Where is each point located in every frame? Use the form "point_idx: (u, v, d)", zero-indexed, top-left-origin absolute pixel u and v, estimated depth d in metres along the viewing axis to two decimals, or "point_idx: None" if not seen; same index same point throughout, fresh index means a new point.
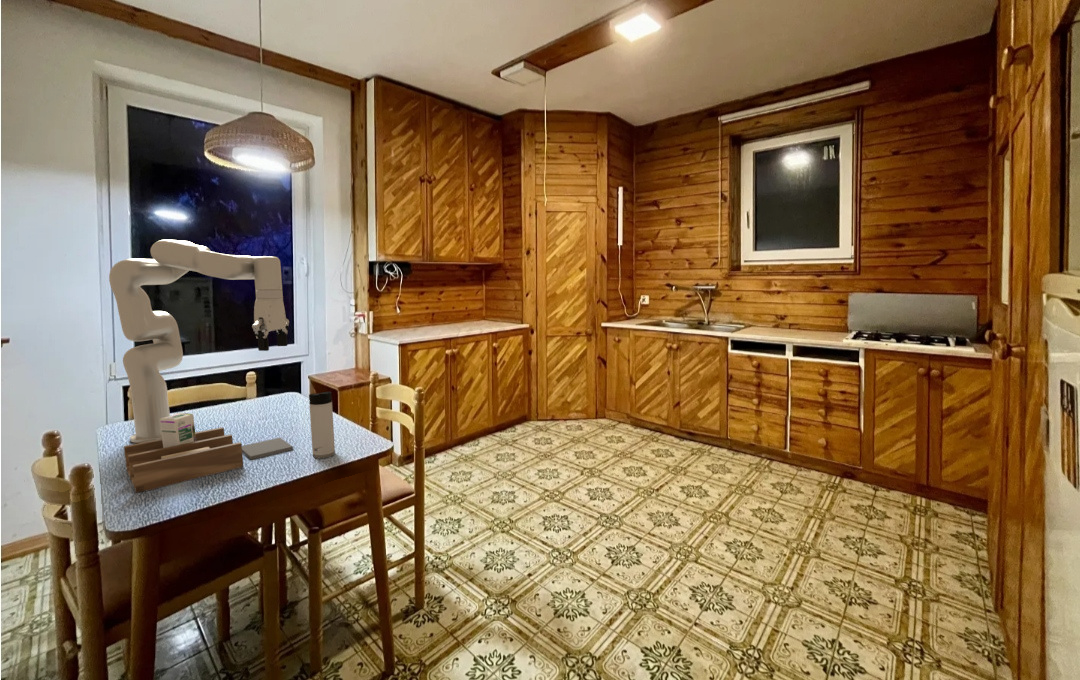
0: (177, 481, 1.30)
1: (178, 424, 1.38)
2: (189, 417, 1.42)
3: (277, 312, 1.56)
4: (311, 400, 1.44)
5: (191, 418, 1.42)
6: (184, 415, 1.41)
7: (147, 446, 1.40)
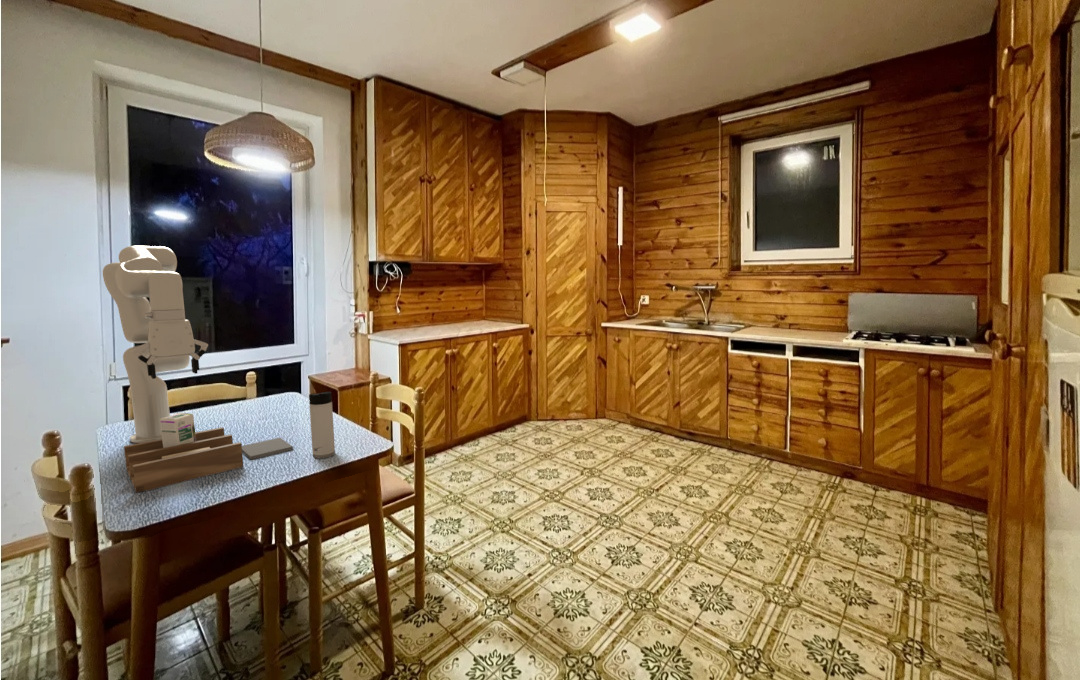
0: (177, 481, 1.30)
1: (178, 424, 1.38)
2: (189, 417, 1.42)
3: None
4: (311, 400, 1.44)
5: (191, 418, 1.42)
6: (184, 415, 1.41)
7: (147, 446, 1.40)
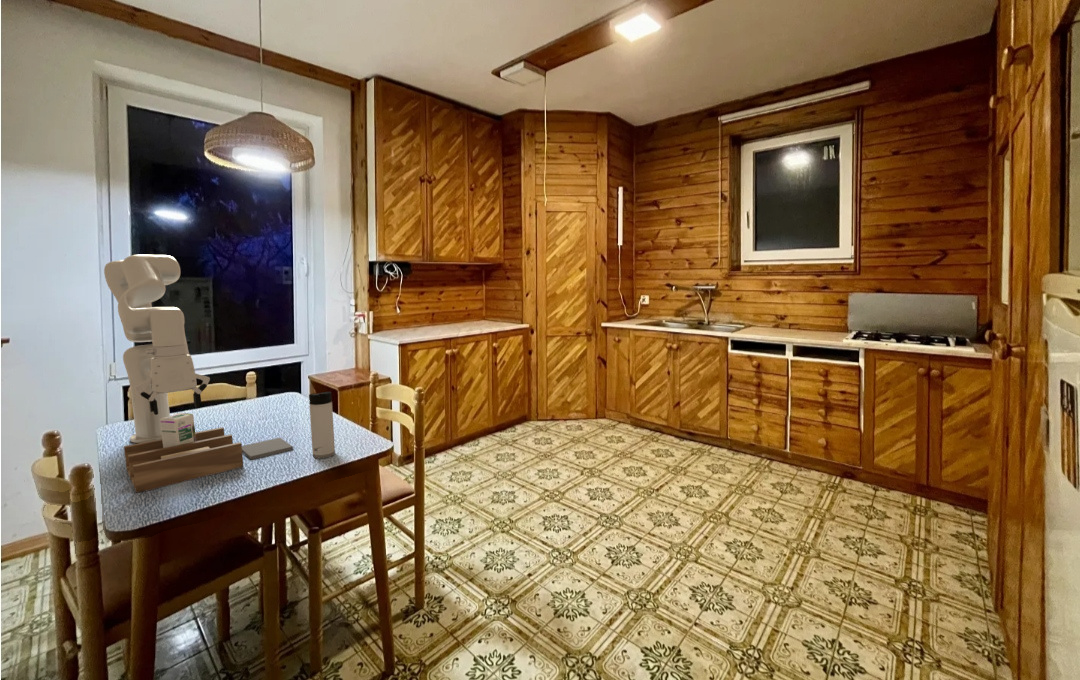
0: (177, 481, 1.30)
1: (178, 424, 1.38)
2: (189, 417, 1.42)
3: None
4: (311, 400, 1.44)
5: (191, 418, 1.42)
6: (184, 415, 1.41)
7: (147, 446, 1.40)
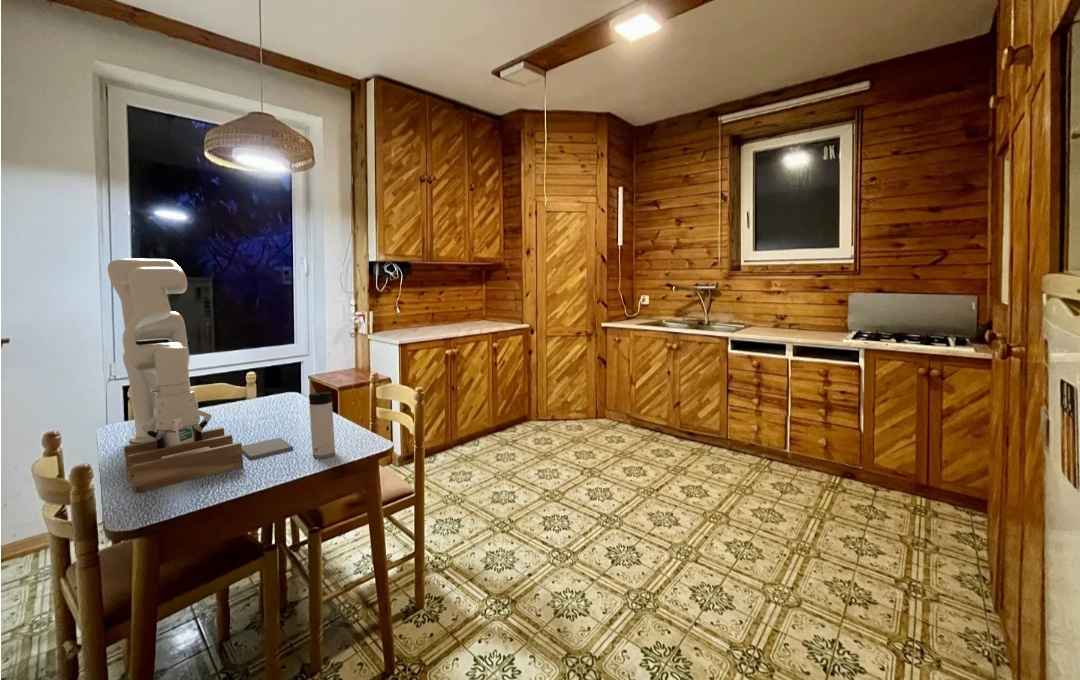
0: (177, 481, 1.30)
1: (178, 424, 1.39)
2: None
3: None
4: (311, 400, 1.44)
5: None
6: None
7: (147, 446, 1.40)
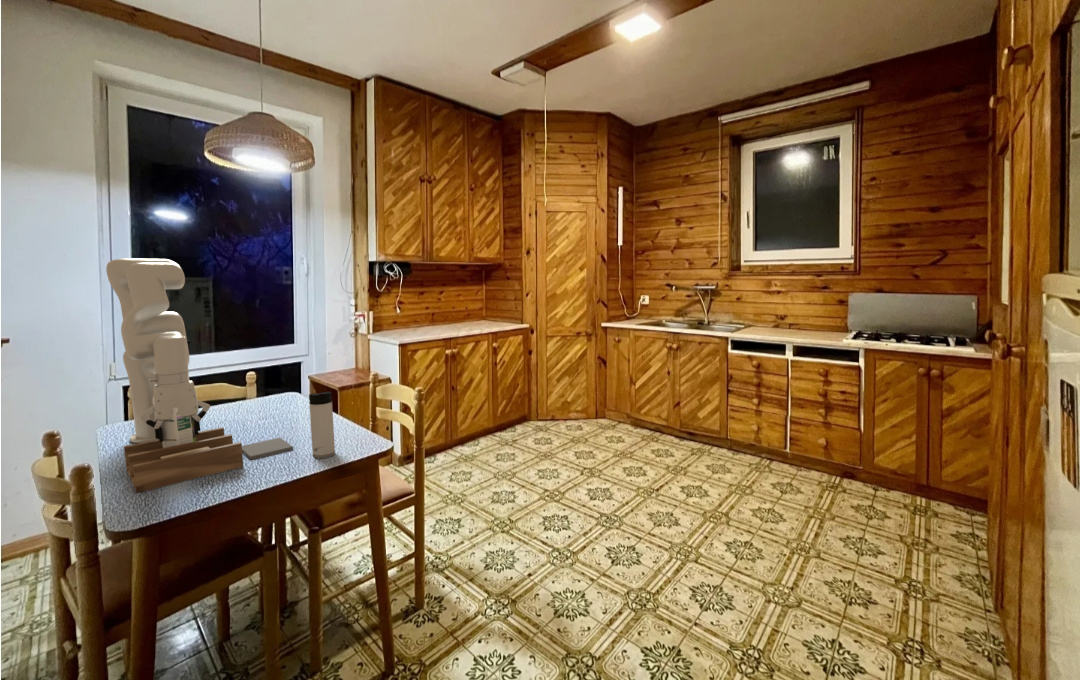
0: (177, 481, 1.30)
1: (177, 413, 1.39)
2: None
3: None
4: (311, 400, 1.44)
5: None
6: None
7: (147, 446, 1.40)
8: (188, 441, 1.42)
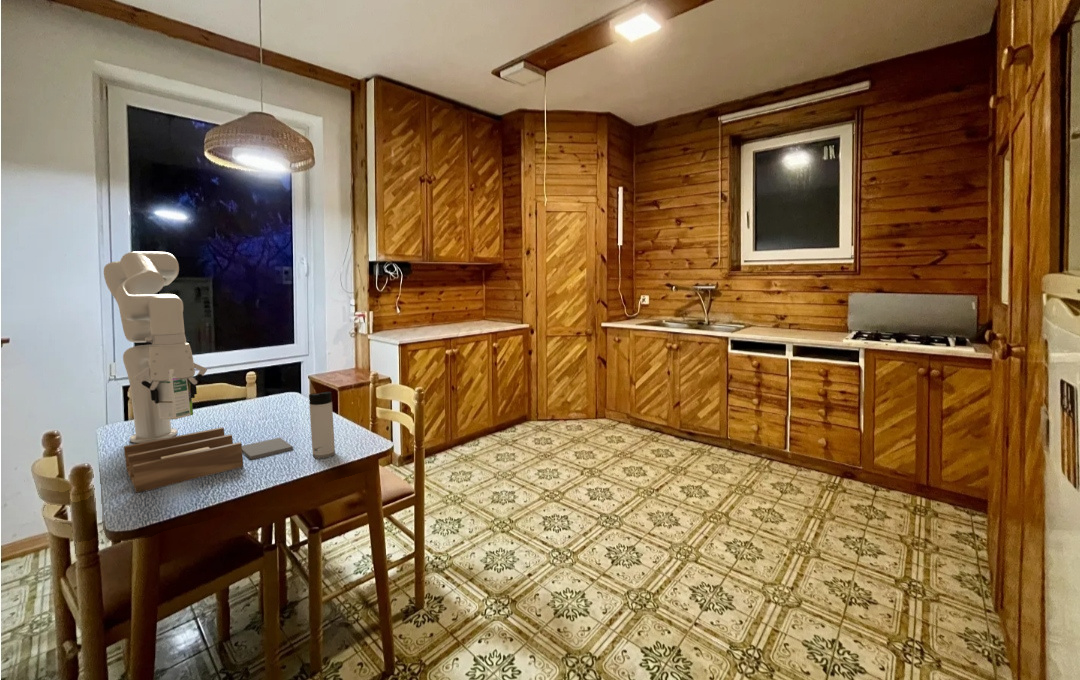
0: (177, 481, 1.30)
1: (172, 374, 1.37)
2: None
3: None
4: (311, 400, 1.44)
5: None
6: None
7: (147, 446, 1.40)
8: (184, 404, 1.40)
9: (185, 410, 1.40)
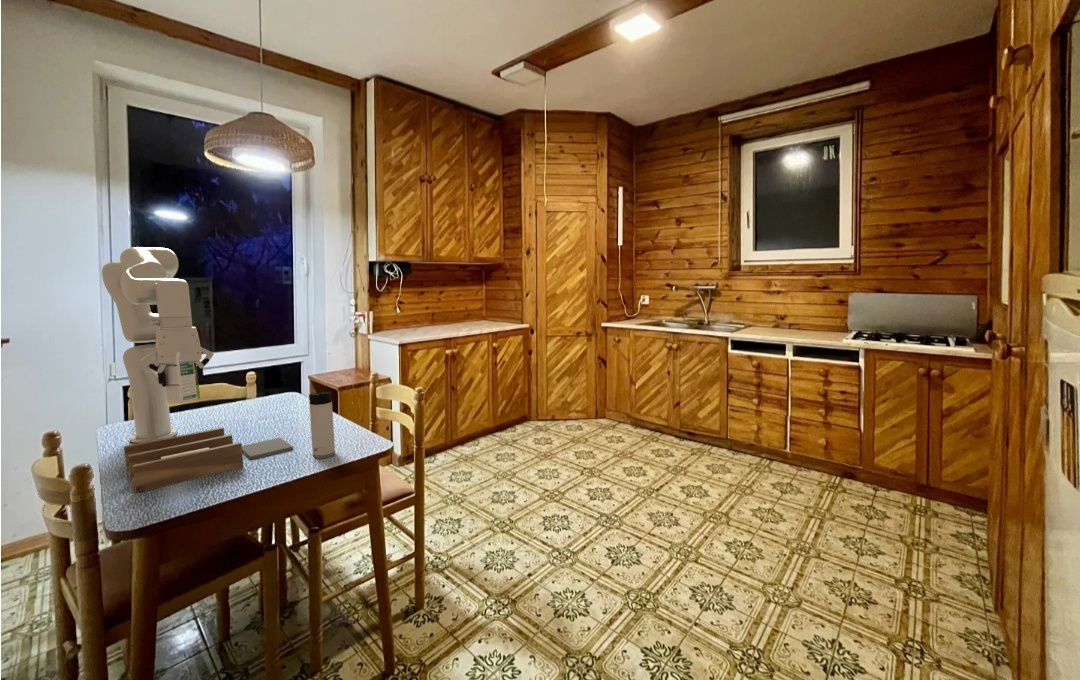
0: (177, 481, 1.30)
1: (179, 357, 1.37)
2: None
3: None
4: (311, 400, 1.44)
5: None
6: None
7: (147, 446, 1.40)
8: (191, 387, 1.40)
9: (192, 393, 1.40)
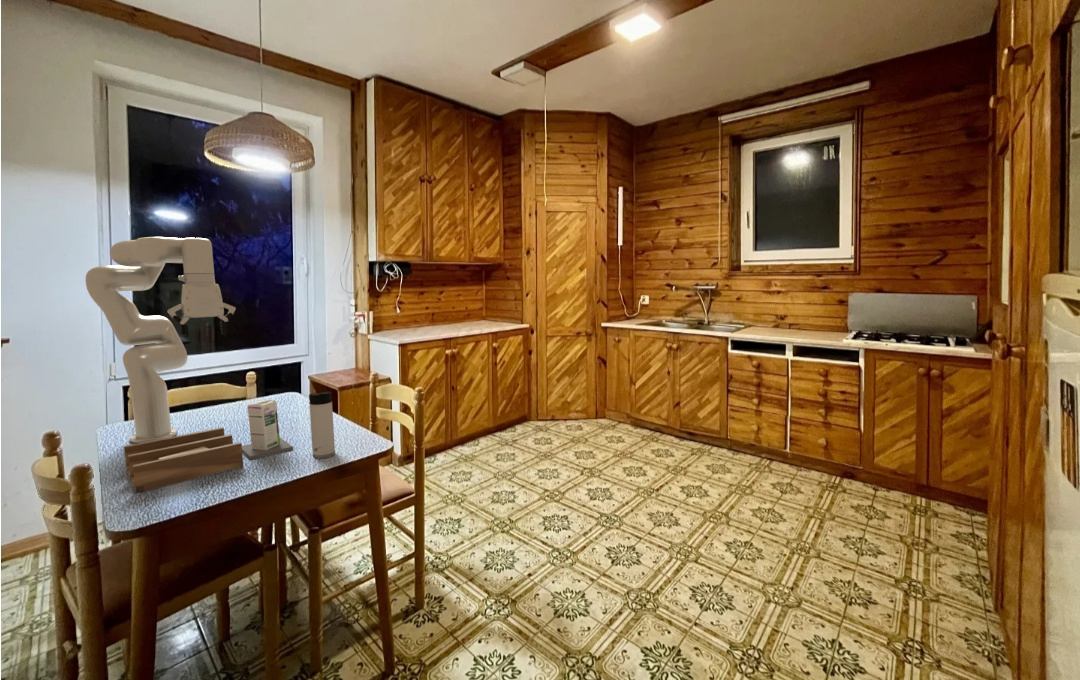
0: (177, 481, 1.30)
1: (264, 410, 1.49)
2: (273, 403, 1.53)
3: None
4: (311, 400, 1.44)
5: (274, 404, 1.53)
6: (268, 402, 1.52)
7: (147, 446, 1.40)
8: (273, 435, 1.53)
9: (274, 441, 1.53)
